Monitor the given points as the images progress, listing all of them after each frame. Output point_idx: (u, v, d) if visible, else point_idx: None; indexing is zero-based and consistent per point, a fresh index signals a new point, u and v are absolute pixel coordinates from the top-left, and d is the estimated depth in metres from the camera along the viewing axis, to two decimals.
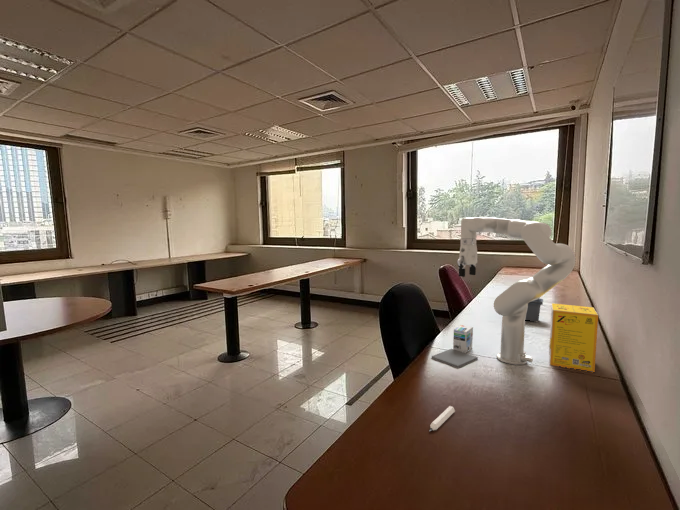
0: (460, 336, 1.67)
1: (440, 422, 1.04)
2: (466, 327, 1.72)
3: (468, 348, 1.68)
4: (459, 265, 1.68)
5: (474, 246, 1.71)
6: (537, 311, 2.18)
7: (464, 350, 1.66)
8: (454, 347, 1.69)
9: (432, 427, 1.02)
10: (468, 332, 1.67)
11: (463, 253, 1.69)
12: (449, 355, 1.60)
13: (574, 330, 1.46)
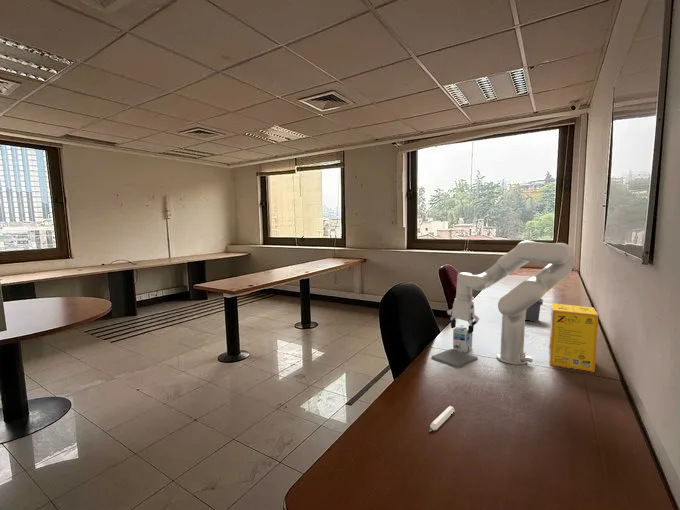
0: (460, 336, 1.67)
1: (440, 422, 1.04)
2: (466, 327, 1.72)
3: (468, 348, 1.68)
4: None
5: None
6: (537, 311, 2.18)
7: (464, 350, 1.66)
8: (454, 347, 1.69)
9: (432, 427, 1.02)
10: None
11: (472, 310, 1.67)
12: (449, 355, 1.60)
13: (574, 330, 1.46)
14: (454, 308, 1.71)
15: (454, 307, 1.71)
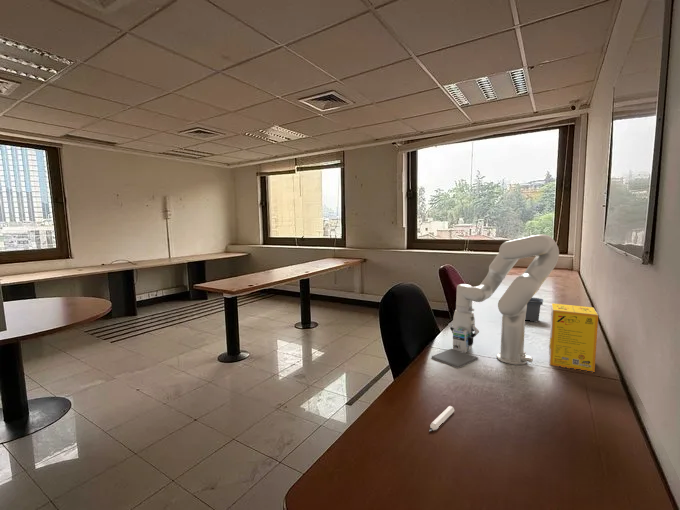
0: (460, 336, 1.67)
1: (440, 422, 1.04)
2: None
3: (468, 348, 1.68)
4: (475, 335, 1.66)
5: None
6: (537, 311, 2.18)
7: (464, 350, 1.66)
8: (454, 347, 1.69)
9: (432, 427, 1.02)
10: None
11: (473, 321, 1.67)
12: (449, 355, 1.60)
13: (574, 330, 1.46)
14: (454, 320, 1.72)
15: (454, 319, 1.72)
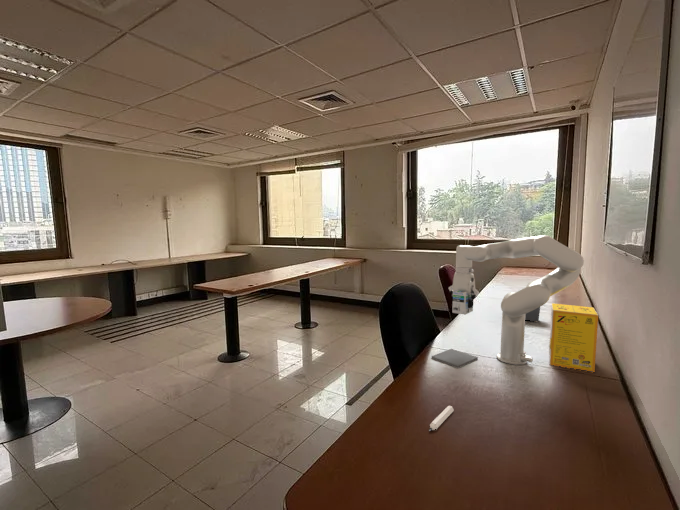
0: (459, 297, 1.62)
1: (440, 422, 1.05)
2: None
3: (468, 310, 1.64)
4: (475, 296, 1.61)
5: None
6: (537, 311, 2.18)
7: (463, 312, 1.62)
8: (453, 309, 1.65)
9: (432, 427, 1.02)
10: None
11: (473, 282, 1.62)
12: (449, 355, 1.60)
13: (574, 330, 1.46)
14: (454, 282, 1.68)
15: (454, 281, 1.68)
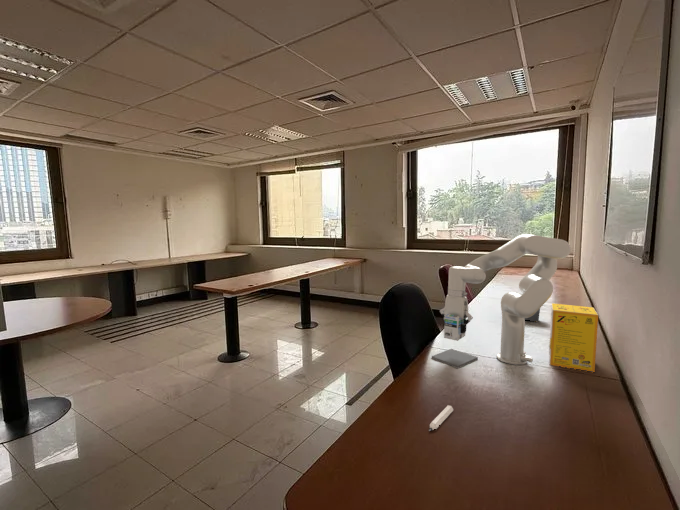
0: (451, 322, 1.53)
1: (439, 421, 1.05)
2: None
3: (460, 336, 1.54)
4: (469, 321, 1.51)
5: None
6: (537, 311, 2.18)
7: (456, 338, 1.52)
8: (445, 334, 1.55)
9: (432, 427, 1.02)
10: None
11: (466, 306, 1.53)
12: (449, 355, 1.60)
13: (574, 330, 1.46)
14: (446, 305, 1.58)
15: (446, 304, 1.58)
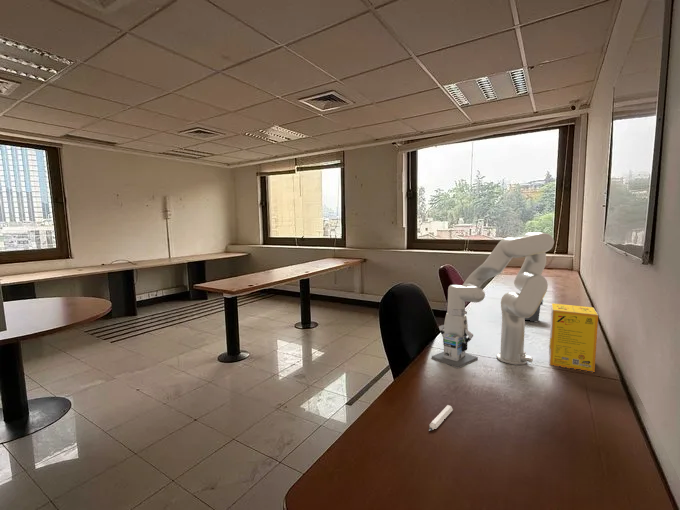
0: (451, 343, 1.54)
1: (439, 421, 1.05)
2: None
3: (460, 356, 1.55)
4: (470, 339, 1.52)
5: None
6: (537, 311, 2.18)
7: (455, 358, 1.53)
8: (444, 354, 1.56)
9: (432, 427, 1.02)
10: (460, 339, 1.54)
11: (466, 325, 1.53)
12: None
13: (574, 330, 1.46)
14: (446, 324, 1.58)
15: (446, 323, 1.58)
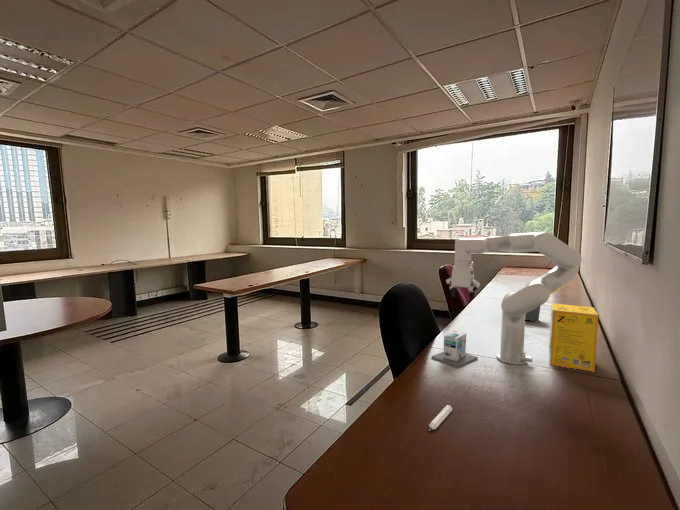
0: (451, 343, 1.54)
1: (439, 421, 1.05)
2: (458, 333, 1.59)
3: (460, 356, 1.55)
4: (477, 288, 1.60)
5: None
6: (537, 311, 2.18)
7: (455, 358, 1.53)
8: (444, 354, 1.56)
9: (431, 426, 1.02)
10: (460, 339, 1.54)
11: (472, 275, 1.62)
12: None
13: (574, 330, 1.46)
14: (453, 276, 1.67)
15: (453, 275, 1.67)
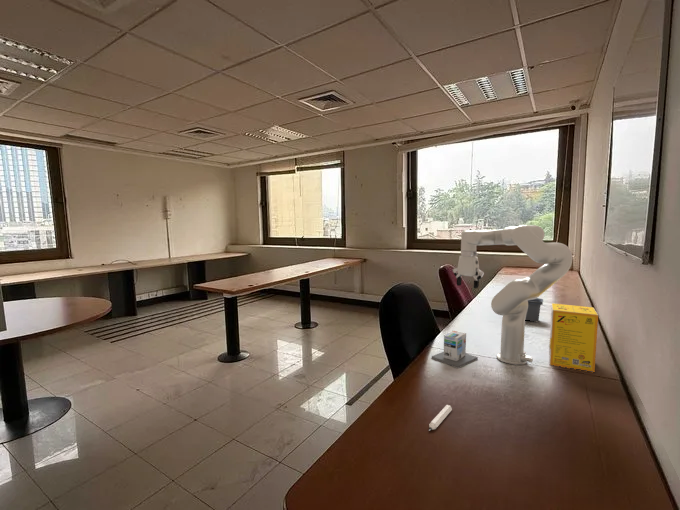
0: (451, 343, 1.54)
1: (439, 421, 1.05)
2: (458, 333, 1.59)
3: (460, 356, 1.55)
4: (481, 277, 1.71)
5: None
6: (537, 311, 2.18)
7: (455, 358, 1.53)
8: (444, 354, 1.56)
9: (431, 426, 1.02)
10: (460, 339, 1.54)
11: (477, 265, 1.73)
12: None
13: (574, 330, 1.46)
14: (459, 265, 1.78)
15: (459, 264, 1.78)
